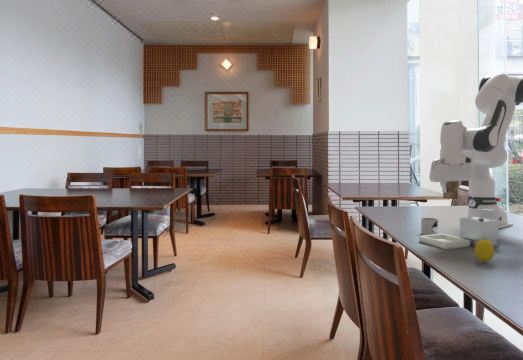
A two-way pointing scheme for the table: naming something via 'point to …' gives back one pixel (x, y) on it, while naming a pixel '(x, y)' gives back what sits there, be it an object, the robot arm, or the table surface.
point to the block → (451, 190)
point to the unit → (478, 230)
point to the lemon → (484, 250)
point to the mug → (429, 226)
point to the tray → (444, 241)
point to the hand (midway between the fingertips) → (450, 192)
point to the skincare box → (490, 216)
